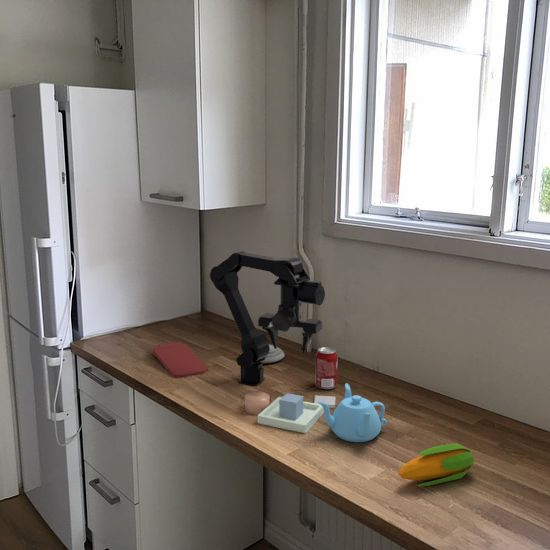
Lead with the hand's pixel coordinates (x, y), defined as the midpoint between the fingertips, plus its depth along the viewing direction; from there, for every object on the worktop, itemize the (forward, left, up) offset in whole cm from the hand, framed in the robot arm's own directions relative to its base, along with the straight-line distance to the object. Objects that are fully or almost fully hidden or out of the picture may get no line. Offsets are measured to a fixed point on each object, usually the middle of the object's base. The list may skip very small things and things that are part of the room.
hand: (289, 350), depth 188 cm
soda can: (+9, +8, -13) cm, 18 cm away
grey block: (+13, -4, -14) cm, 19 cm away
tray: (+8, -17, -13) cm, 23 cm away
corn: (+50, -32, -13) cm, 61 cm away
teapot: (+26, -19, -13) cm, 35 cm away
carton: (-44, +6, -14) cm, 46 cm away
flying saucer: (-20, +23, -14) cm, 33 cm away
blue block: (+8, -17, -12) cm, 22 cm away
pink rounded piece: (-3, -16, -13) cm, 21 cm away
